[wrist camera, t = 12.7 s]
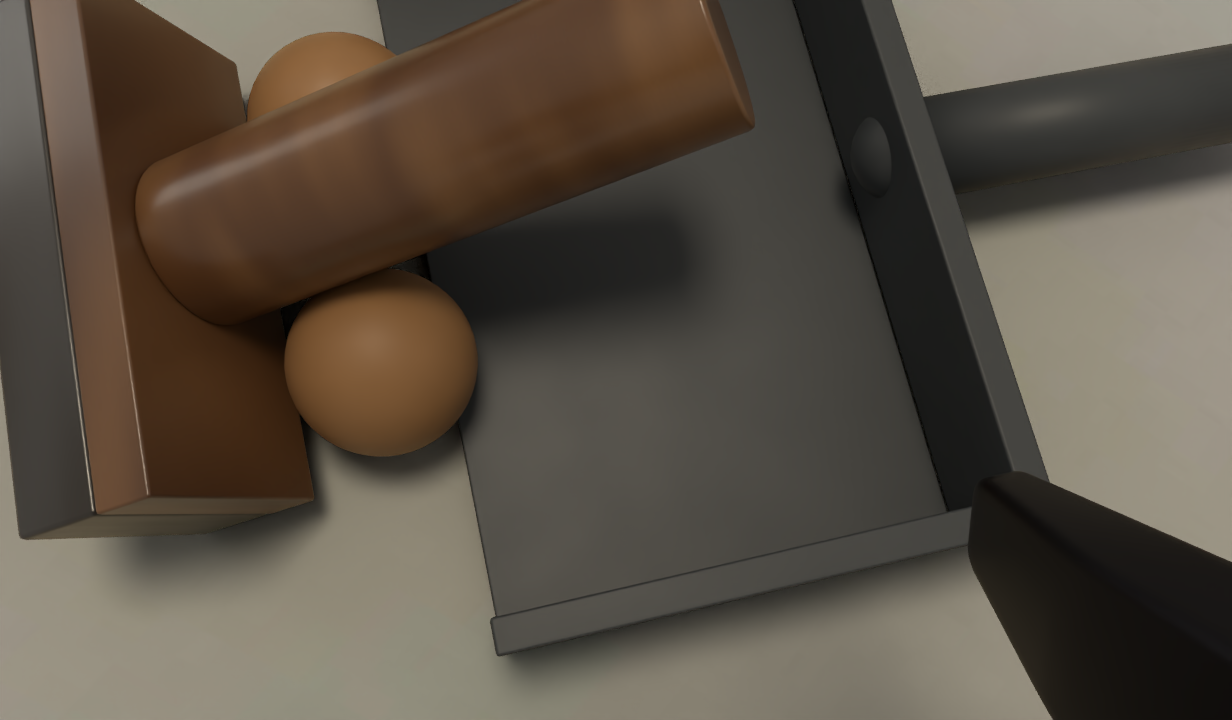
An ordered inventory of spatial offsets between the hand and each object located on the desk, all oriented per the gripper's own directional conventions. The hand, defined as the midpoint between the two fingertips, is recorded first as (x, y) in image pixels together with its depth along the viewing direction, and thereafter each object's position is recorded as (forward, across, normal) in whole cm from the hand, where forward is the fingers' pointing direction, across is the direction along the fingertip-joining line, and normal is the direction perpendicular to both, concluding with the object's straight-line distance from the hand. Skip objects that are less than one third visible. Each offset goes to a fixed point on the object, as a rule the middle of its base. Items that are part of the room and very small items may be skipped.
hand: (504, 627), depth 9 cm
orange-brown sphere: (+10, +1, +3) cm, 10 cm away
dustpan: (+12, -9, +2) cm, 15 cm away
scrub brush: (+11, +6, +1) cm, 13 cm away
